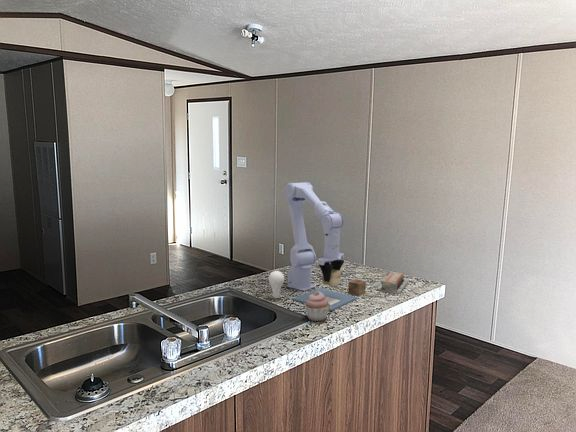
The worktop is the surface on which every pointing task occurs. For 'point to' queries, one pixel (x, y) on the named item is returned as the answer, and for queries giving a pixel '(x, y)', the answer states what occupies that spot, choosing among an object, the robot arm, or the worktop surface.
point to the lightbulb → (276, 283)
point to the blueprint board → (329, 298)
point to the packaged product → (393, 283)
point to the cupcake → (317, 306)
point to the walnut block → (357, 287)
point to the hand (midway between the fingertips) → (330, 279)
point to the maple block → (333, 278)
